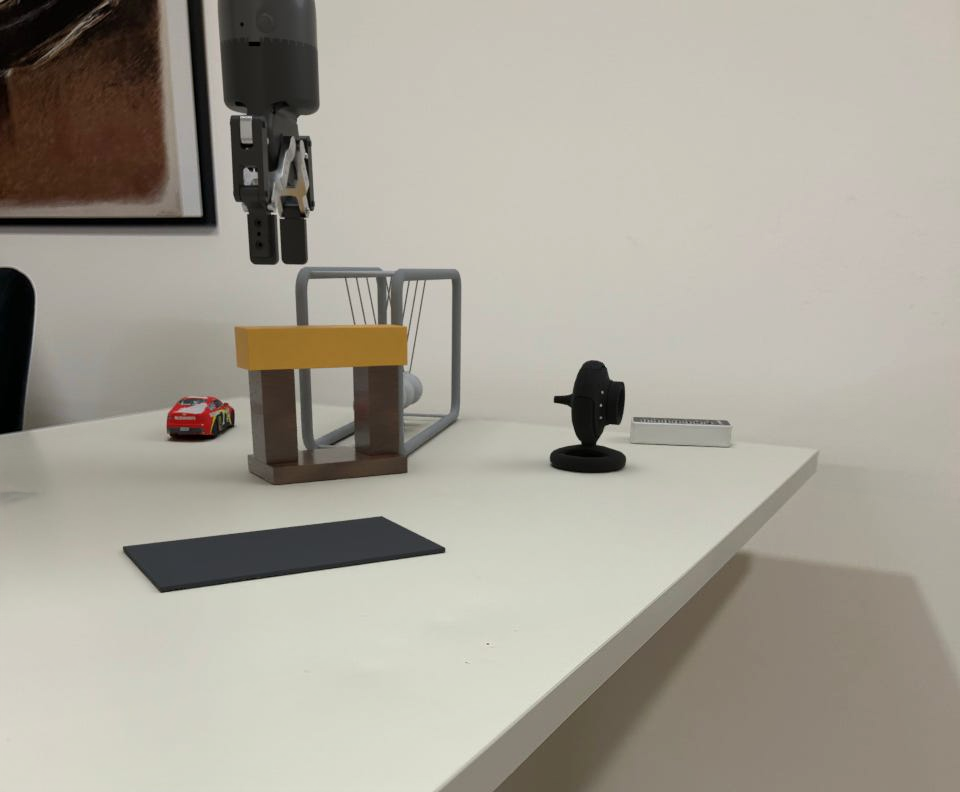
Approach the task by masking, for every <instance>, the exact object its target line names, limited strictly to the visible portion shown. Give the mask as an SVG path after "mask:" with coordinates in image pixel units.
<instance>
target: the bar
mask: <svg viewBox="0 0 960 792" xmlns="http://www.w3.org/2000/svg"><path fill="white" fill-rule="evenodd" d="M233 331H234V342H235V356H236V357H235V359H236V367H237V368H240V369H243V370H246V371H248V370H249V371H256V370H284V369H294V370H299V369H310V370H311V369H334V368H335V369H337V368H353V367H369V366H397V365H404V366H408V362H409V361H408V343H407V335H408V326H405V325H403V326H399V325H392V324H391V323H390V324H389V323H387V324H383V325H378V324H377V325H375V324H366V325H365V324H356V325H354V324H321V325H319V324H318V325H317V324H315V325H313V324H312V325H311V324H309V325H305V326H297V325H242V326H241V325H240V326H239V325H238V326H237V325H236V326H234V330H233Z"/></svg>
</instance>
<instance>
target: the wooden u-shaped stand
mask: <svg viewBox="0 0 960 792" xmlns="http://www.w3.org/2000/svg"><path fill="white" fill-rule="evenodd" d="M247 373H248V374H247V375H248V388H249V389H248V391H249V405H250V406H249V407H250V420H251V421H250V423H251V437H252V439H251V440H252V453H251V454H247V468H248V471H249V472H250V473H252V474H254V475H256V476H258V477H259V478H261V479H263V480H265V481H267V482H268V483H270V484H272V485H274V486H275V485H276V486H277V485H286V484H288V485H289V484H297V483H298V484H299V483H309V482H318V481H320V482H321V481H328V480H329V481H331V480H339V479H351V478H360V477H361V478H362V477H373V476H382V475H384V476H385V475H394V474H403V473H408V455H406V456H405V455H402V454H399V400H398V366H369V367H352V384H353V385H352V388H353V401H354V410H353V421H354V427H355V432H354V446H350V447H340V448H327V449H314V450H307V449H303V450H301V449H300V450H299V442H298V422H297V421H298V419H297V400H296V399H297V398H296V379H295V378H296V377H295V369H284V370H256V371H249V370H247Z"/></svg>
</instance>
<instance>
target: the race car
mask: <svg viewBox="0 0 960 792" xmlns="http://www.w3.org/2000/svg"><path fill="white" fill-rule="evenodd" d="M235 422H236V413H235V409H234V407H232V406H231V405H230V404H229V402H222V400H221V399H218V397H214V396H209V395H208V396H206V395H189V396H188V395H187V396H183V397H182V398H180V399H179V400H178V401H177V402H176V403H175V404H174V405H173V407H172V408H171V409H170V410H169V411H168V413H167V416H166V434H167V435H169V436H170V437H171V438H179V437H180V435H204V436H205V435H207V437H208V438H214V439H216V438H218V435H219V433H220V432H222V431H223V430H225V429H226V428H232V427H234V426H235Z"/></svg>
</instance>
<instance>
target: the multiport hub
mask: <svg viewBox="0 0 960 792" xmlns="http://www.w3.org/2000/svg"><path fill="white" fill-rule="evenodd" d="M732 434H733V425H732V423H731V422H730V421H729V420H726V419H705V418H704V419H702V418H700V419H699V418H680V417H679V418H678V417H677V418H675V417H674V418H673V417H650V416H632V417H631V418H630V430H629V443H630V444H645V445H646V444H647V445H669V446H671V445H672V446H694V447H717V448H720V447H721V448H730V447H731V443H732V442H731V441H732V436H733V435H732Z"/></svg>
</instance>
